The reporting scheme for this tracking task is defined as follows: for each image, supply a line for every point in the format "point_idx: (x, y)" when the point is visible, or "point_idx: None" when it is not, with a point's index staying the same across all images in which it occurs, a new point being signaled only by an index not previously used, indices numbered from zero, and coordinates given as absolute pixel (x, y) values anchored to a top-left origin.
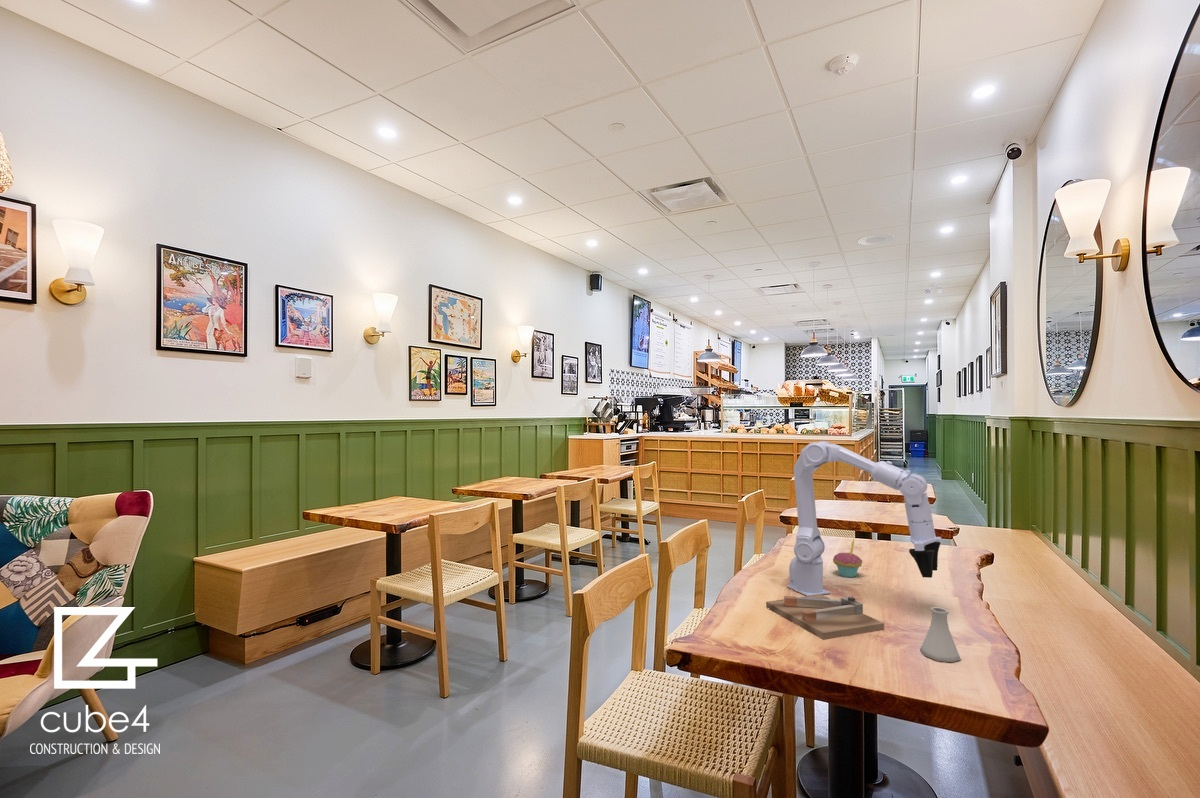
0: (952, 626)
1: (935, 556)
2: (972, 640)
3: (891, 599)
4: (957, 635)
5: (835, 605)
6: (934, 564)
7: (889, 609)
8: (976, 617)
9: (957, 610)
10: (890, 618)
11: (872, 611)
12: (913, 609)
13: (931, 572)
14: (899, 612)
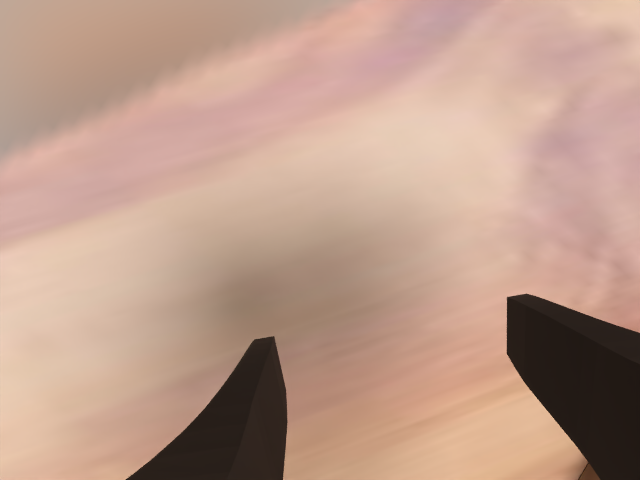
0: (439, 148)
1: (253, 420)
2: (557, 35)
3: None
4: (539, 99)
5: None
6: (270, 377)
7: (415, 401)
8: (227, 104)
9: (193, 197)
10: None
11: (491, 434)
12: (337, 336)
13: (562, 308)
14: (423, 360)
